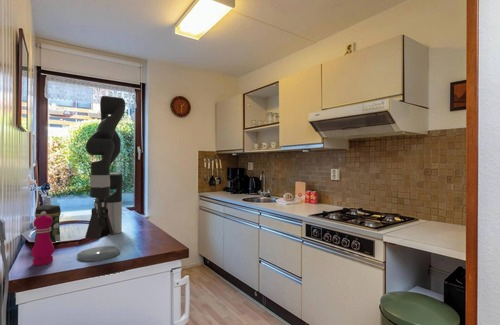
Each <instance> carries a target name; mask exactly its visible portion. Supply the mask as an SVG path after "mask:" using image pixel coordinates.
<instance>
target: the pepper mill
mask: <svg viewBox="0 0 500 325" xmlns="http://www.w3.org/2000/svg"><path fill="white" fill-rule="evenodd" d="M41 215H42V216H38V217H37V218H36V217H35V218H34V220H33V227H35V229H34V230H35V234H36V233H37V238H36V242H35V241H34V244H33V247H32V249H31V253H30V254H31V256H32V257H33V259H32V265H33V266H43V265H48V264H51V263H52V262H53V261H54V256H53V254H54V253H55V245H53V243H52V241H51V239H50V231H51V227H50V226H51V225H52V223H53V219H52V217H51V216H48V215H46V212H45V211H43V212H41Z"/></svg>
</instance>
